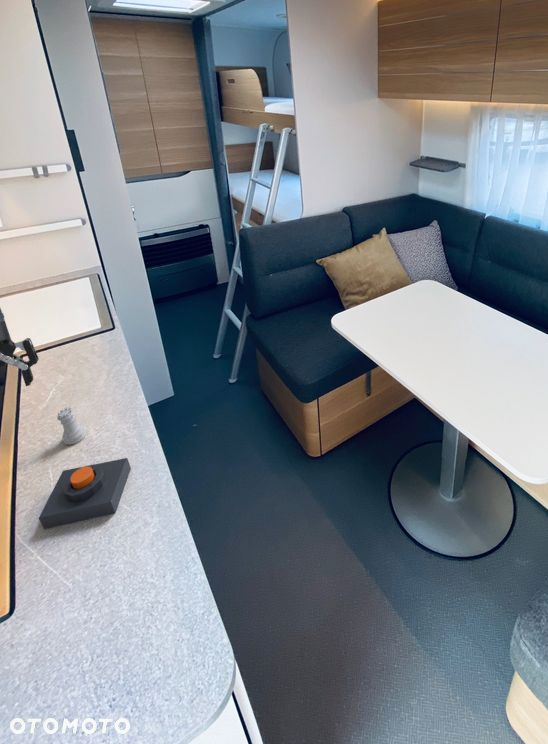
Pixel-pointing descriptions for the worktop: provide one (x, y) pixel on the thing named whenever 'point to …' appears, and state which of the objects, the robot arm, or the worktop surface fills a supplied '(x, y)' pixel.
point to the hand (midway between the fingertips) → (4, 392)
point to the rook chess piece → (71, 427)
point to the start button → (82, 477)
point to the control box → (86, 495)
